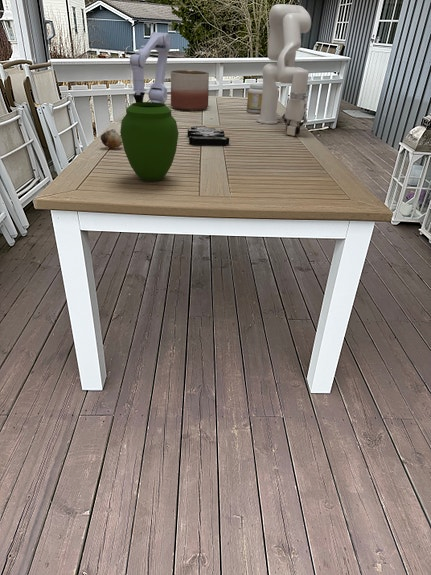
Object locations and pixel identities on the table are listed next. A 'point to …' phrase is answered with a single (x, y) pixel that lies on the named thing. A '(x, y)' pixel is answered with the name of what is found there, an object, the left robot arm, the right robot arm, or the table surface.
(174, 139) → the vase
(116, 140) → the seashell
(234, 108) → the table surface
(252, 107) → the supplement tub
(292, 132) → the grey square block
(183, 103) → the planter
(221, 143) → the sign
